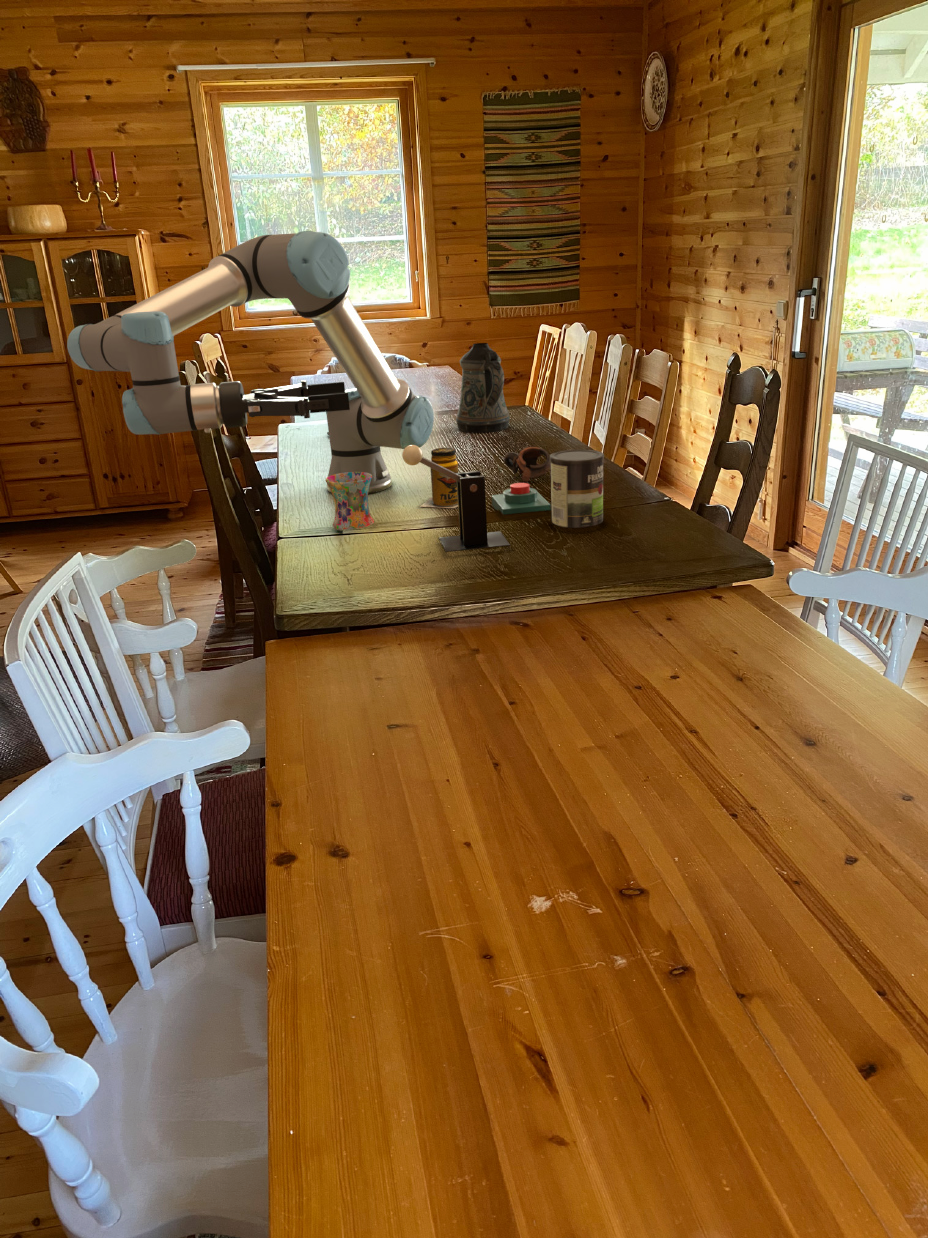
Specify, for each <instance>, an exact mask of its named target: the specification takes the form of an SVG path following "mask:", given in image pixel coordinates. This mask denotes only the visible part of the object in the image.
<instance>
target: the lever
mask: <svg viewBox="0 0 928 1238" xmlns="http://www.w3.org/2000/svg"><path fill="white" fill-rule="evenodd" d="M423 455H424V454H423V451H422V449H421V447H420V448H419V447H418V446H416V445H409V446H407V447H406V448H405V449H402V456H401V457H402V460H403V462H405V464H407V465H409V466H417V465H419V464H421V465H424V466H426V467H428V468H432V469H434V470H436V471H438V472H440V473H442V474H444V475H446V476H448V477H450V478H452V479H454V480H456V481H458V482H460V478H462V476H460V475H458V474H456V473H454V472H452V471H450V470H448V469H446V468H444V467H442V466H440V465H438V464H436V463H434V462H432V461H431V459H428V458H426V457H424V456H423ZM465 477H471V476H469V475H467V474H466V475H465Z"/></svg>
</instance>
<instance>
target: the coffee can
mask: <svg viewBox="0 0 928 1238" xmlns="http://www.w3.org/2000/svg"><path fill="white" fill-rule="evenodd" d="M549 456H550V461H551V468H550V492H551V493H550V497H551V503H550V505H551V523H552V524H554V525H555V526H558V527H561V528H571V529H572V528H573V529H574V528H576V529H577V528H589V527H594V526H597V525H600V524H601V523H603V521H604V458H605V454H604V452H601V451H599V450H594V449H585V448H584V449H583V448H582V449H565V450H559V451H556V452H553V453H551V454H549Z"/></svg>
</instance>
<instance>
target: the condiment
mask: <svg viewBox="0 0 928 1238" xmlns="http://www.w3.org/2000/svg"><path fill="white" fill-rule="evenodd" d="M430 454H431V457H430V461H432V462H434V463H436V464H438V465H440V466H442V467H444V468H446V469H448V470H450V471H452V472H454V473H459V462H458V461H457V456H456V449H455V448H452V447H438V448H434V449H432V450H431V451H430ZM429 468H430V467H429ZM430 483H431V497H428V499H427V500H426V501H425V502H424V503H422V504H421V505H419V508H423V507H424V508H436V509H437V508H438V509H456V508H458V496H457V481H456V480H454V479H452V478H450V477H448V476H446V475H444V474H442V473H440V472H438V471H436V470H434V469H432V468H430Z"/></svg>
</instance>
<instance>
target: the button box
mask: <svg viewBox="0 0 928 1238" xmlns="http://www.w3.org/2000/svg"><path fill="white" fill-rule="evenodd" d="M491 505H492V506H493V508H494V509H495V511H500V512H501V514H502V515H504V516H505V515H514V514H523V513H532V512H533V513H534V512H535V513H536V512H544V511H552V509H551V503H549V501H547V500H546V498H544V496H542V495H541V494H540V493H539V492H538V490H537V489H536V488H533V487H530V493H526V494H511V490H510V488H507V489H505V490H504V491H503V492H502V493H499V494H492V495H491Z"/></svg>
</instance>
